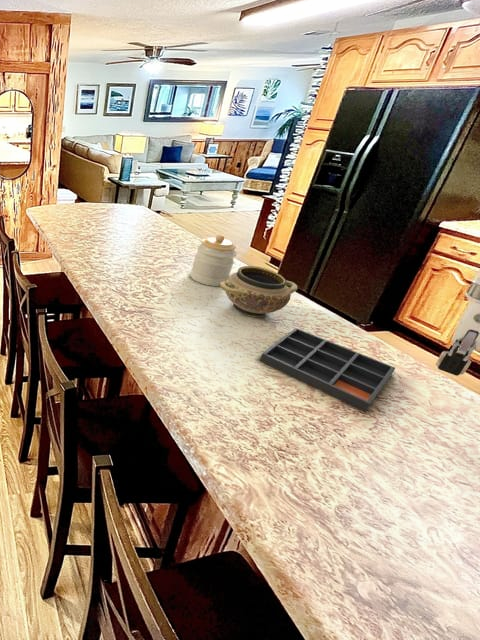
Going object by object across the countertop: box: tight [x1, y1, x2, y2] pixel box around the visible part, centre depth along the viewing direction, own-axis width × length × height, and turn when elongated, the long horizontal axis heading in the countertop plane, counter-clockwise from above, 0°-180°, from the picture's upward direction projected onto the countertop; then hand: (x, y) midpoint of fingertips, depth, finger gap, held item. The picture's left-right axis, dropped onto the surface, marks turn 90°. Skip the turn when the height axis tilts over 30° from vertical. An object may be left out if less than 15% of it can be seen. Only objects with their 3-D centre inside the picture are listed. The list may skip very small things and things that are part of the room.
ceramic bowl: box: [219, 265, 298, 318], centre depth 123 cm, size 24×18×15 cm
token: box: [435, 350, 472, 376], centre depth 85 cm, size 4×4×3 cm
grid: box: [259, 327, 396, 413], centre depth 99 cm, size 22×22×2 cm
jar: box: [190, 234, 237, 287], centre depth 143 cm, size 13×13×18 cm
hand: (450, 366), depth 85 cm, fingers closed on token, 4 cm apart
